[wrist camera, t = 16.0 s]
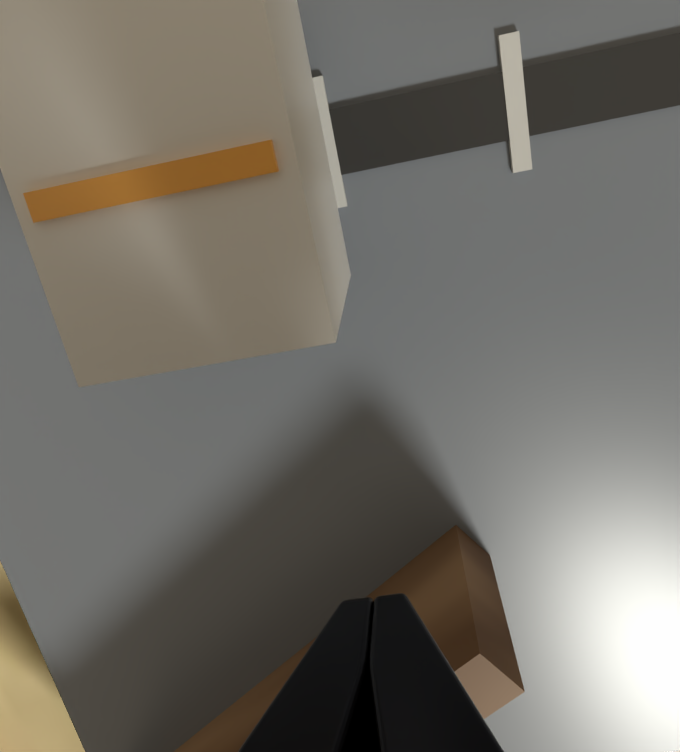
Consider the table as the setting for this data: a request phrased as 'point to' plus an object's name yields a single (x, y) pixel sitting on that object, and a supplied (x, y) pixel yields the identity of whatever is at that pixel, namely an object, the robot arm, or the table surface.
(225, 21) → the fader
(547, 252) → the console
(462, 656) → the door
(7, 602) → the table surface
